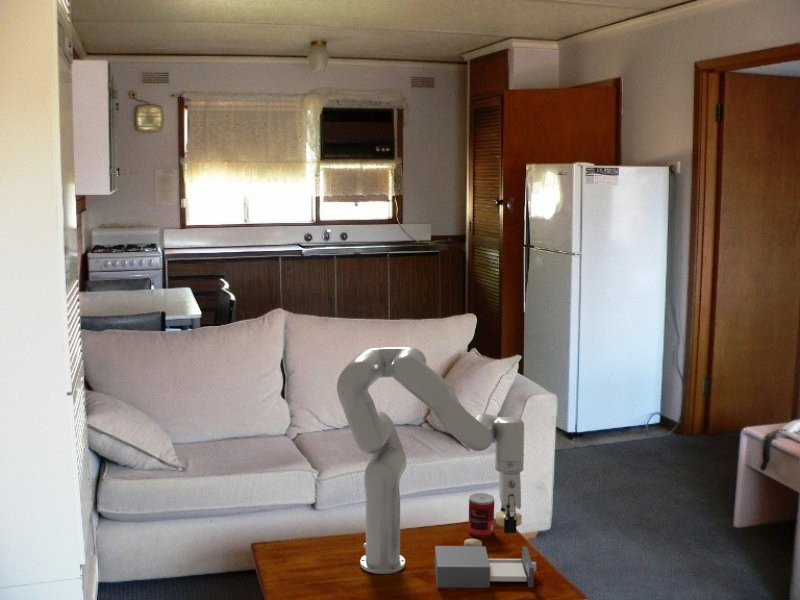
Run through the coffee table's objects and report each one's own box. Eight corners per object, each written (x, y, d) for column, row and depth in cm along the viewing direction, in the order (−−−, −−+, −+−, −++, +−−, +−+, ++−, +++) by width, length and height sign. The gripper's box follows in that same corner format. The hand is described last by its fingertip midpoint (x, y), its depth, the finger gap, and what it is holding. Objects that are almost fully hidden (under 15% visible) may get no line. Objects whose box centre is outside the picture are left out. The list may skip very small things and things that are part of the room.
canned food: (487, 525, 288) (488, 491, 286) (497, 535, 280) (498, 501, 279) (464, 528, 285) (465, 494, 284) (474, 539, 278) (475, 503, 276)
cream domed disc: (505, 529, 246) (505, 522, 246) (490, 520, 252) (490, 513, 252) (526, 523, 250) (526, 517, 250) (511, 515, 256) (511, 508, 256)
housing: (436, 587, 247) (437, 566, 246) (434, 565, 260) (435, 545, 259) (489, 587, 247) (490, 567, 246) (484, 565, 260) (485, 546, 259)
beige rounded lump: (460, 555, 266) (460, 540, 266) (474, 552, 269) (475, 537, 268) (470, 562, 262) (470, 547, 261) (484, 558, 265) (485, 543, 264)
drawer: (478, 587, 247) (479, 567, 246) (474, 564, 260) (474, 546, 259) (539, 587, 247) (539, 568, 246) (531, 564, 260) (532, 546, 260)
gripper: (528, 474, 240) (526, 540, 243) (519, 453, 257) (518, 514, 260) (498, 475, 240) (498, 540, 243) (491, 453, 257) (491, 514, 260)
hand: (508, 526), depth 251 cm, fingers closed on cream domed disc, 7 cm apart
